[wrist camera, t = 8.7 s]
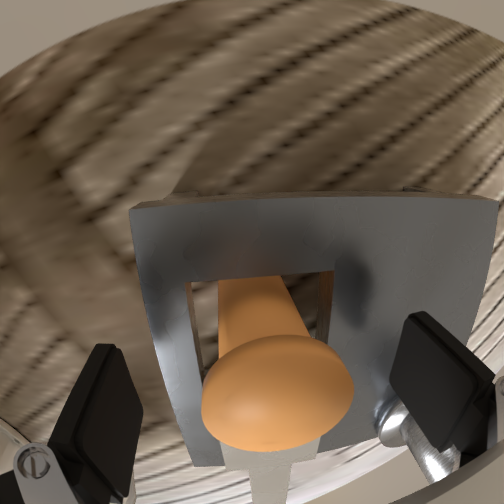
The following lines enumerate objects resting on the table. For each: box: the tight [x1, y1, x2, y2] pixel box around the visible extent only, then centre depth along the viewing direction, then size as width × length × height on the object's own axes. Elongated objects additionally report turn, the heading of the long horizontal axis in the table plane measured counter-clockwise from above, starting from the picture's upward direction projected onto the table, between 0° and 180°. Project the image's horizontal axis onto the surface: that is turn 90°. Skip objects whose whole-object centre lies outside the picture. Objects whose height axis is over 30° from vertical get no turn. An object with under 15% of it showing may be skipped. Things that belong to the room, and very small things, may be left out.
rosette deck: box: [129, 186, 499, 504], centre depth 12 cm, size 18×17×13 cm
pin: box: [201, 275, 354, 452], centre depth 12 cm, size 4×4×10 cm
